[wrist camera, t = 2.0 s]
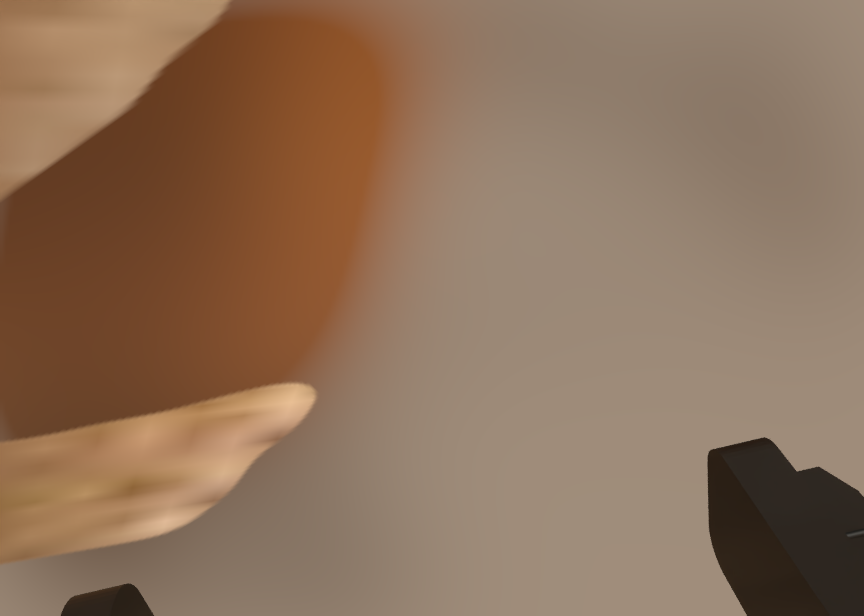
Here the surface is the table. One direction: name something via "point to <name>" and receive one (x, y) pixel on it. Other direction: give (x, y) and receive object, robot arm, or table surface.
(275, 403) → the table surface
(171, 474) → the table surface
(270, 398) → the table surface
